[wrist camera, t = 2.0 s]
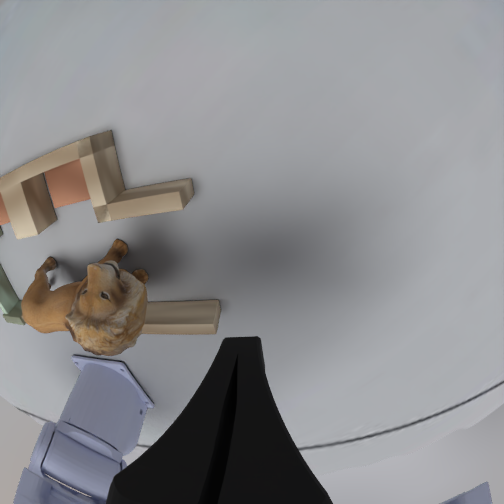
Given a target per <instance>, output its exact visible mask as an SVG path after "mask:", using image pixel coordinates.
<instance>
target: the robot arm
mask: <svg viewBox="0 0 504 504" xmlns="http://www.w3.org/2000/svg"><path fill="white" fill-rule="evenodd" d="M71 359H72V361H73V362H74V363H75V364H76V366H77V367H78V368H79V370H80V371H81V373H80V375H79V377H78V379H77V381H76V384H75V386H74V388H73V390H72V392H71V394H70V396H69V398H68V401H67V403H66V405H65V407H64V410H63V412H62V414H61V416H60V419H59V421H58V422H57V423H56V424H55V423H54V422H52V421H50V422H46V423H45V424H44V426H43V428H42V430H41V433H40V435H39V437H38V440H37V443H36V445H35V447H34V450H33V453H32V456H31V459H30V461H31V462H30V465H29V468H28V469H27V468H24V469H23V472H22V475H21V478H20V482H19V485H18V488H17V492H16V495H15V498H14V502H13V503H14V504H333V503H332V501H331V499H330V497H329V495H328V493H327V492H326V490H325V489H324V488H323V487H322V485H321V484H320V482H319V481H318V480H317V478H316V477H315V475H314V474H313V473H312V471H311V470H310V468H309V466H308V465H307V463H306V462H305V460H304V459H303V457H302V455H301V454H300V452H299V450H298V448H297V447H296V445H295V443H294V442H293V440H292V438H291V436H290V434H289V432H288V430H287V428H286V426H285V424H284V422H283V420H282V418H281V415H280V413H279V411H278V408H277V406H276V403H275V401H274V398H273V396H272V393H271V390H270V387H269V384H268V381H267V377H266V374H265V364H264V358H263V351H262V345H261V338H259V337H258V336H255V337H230V338H225V339H223V342H222V344H221V346H220V349H219V351H218V353H217V355H216V357H215V359H214V361H213V363H212V365H211V367H210V369H209V371H208V372H207V374H206V376H205V378H204V379H203V381H202V383H201V385H200V386H199V388H198V389H197V391H196V392H195V394H194V395H193V397H192V399H191V400H190V402H189V403H188V404H187V406H186V407H185V409H184V410H183V411H182V413H181V414H180V415H179V416H178V418H177V419H176V420H175V421H174V423H173V424H172V425H171V426H170V427H169V428H168V429H167V431H166V432H165V433H164V434H163V435H162V436H161V437H160V438H159V439H158V440H157V441H156V442H155V443H154V444H153V445H152V446H151V447H150V448H149V449H148V450H147V451H145V452H144V453H143V454H142V455H141V456H140V457H139V458H138V459H136V460H135V461H134V462H133V463H131V464H130V465H128V466H127V464H126V462H125V461H124V460H123V459H122V456H124V455H127V454H129V453H130V452H131V451H132V450H133V449H134V448H135V447H136V445H137V442H138V439H139V435H140V432H141V428H142V425H143V421H144V418H145V414H146V411H147V408H154V404H153V403H152V402H151V400H150V399H149V398H148V396H147V395H146V394H145V392H144V391H143V390H142V388H141V387H140V386H139V384H138V383H137V382H136V380H135V379H134V377H133V376H132V375H131V373H130V372H129V370H128V369H127V367H126V366H125V365H124V364H123V363H122V362H116V361H108V360H100V359H93V358H86V357H80V356H74V355H73V356H72V357H71ZM44 473H45V474H47V475H49V476H51V477H53V478H54V479H56V480H58V481H60V482H62V483H64V484H66V485H68V486H70V487H72V488H74V489H76V490H78V491H80V492H82V493H85V494H87V495H89V496H91V497H89V496H85V495H83V494H81V493H79V492H77V491H74V490H72V489H70V488H68V487H66V486H64V485H62V484H60V483H58V482H57V481H55V480H53V479H51V478H49V477H48V476H47V475H45V474H44ZM440 504H492V499H491V494H490V489H489V484H488V482H485V483H483V484H481V485H479V486H477V487H475V488H473V489H471V490H469V491H467V492H464V493H462V494H459V495H457V496H455V497H453V498H451V499H449V500H447V501H445V502H442V503H440Z"/></svg>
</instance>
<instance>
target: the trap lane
mask: <svg viewBox="0 0 504 504" xmlns="http://www.w3.org/2000/svg"><path fill="white" fill-rule="evenodd" d="M43 172H44V173H45V177H46V180H47V184H48V187H49V191H50V194H51V197H52V201H53V204H54V207H55V208H58V207H61V206H65V205H69V204H73V203H76V202H80V201H84V200H88V199H91V202H92V205H93V208H94V211H95V214H96V217H97V220H98V223H101V222H106V221H112V220H118V219H124V218H130V217H137V216H143V215H150V214H156V213H163V212H170V211H178V210H183V209H184V208H185V206H186V205H187V204H188V202H189V201H190V199H191V198H192V197H193V195H194V190H193V185H192V180H191V178H189V179H182V180H176V181H170V182H165V183H159V184H154V185H148V186H143V187H138V188H133V189H128V190H125V187H124V183H123V179H122V175H121V171H120V167H119V163H118V159H117V154H116V150H115V145H114V141H113V136H112V131H111V130H110V131H107V132H103V133H100V134H96V135H93V136H90V137H87V138H84V139H82V140H79V141H76V142H74V143H71V144H69V145H67V146H64V147H62V148H59V149H57V150H55V151H53V152H50V153H48V154H46V155H44V156H42V157H39V158H37V159H35V160H33V161H31V162H29V163H27V164H25V165H23V166H21V167H19V168H17V169H16V170H14V171H12V172H10V173H8V174H6V175H5V176H3V177H1V178H0V225H2V224H5V223H8V222H11V225H12V227H13V230H14V232H15V235H16V237H17V239H22V238H26V237H31V236H35V235H39V234H40V233H41V232H42V231H43V230H45V229H46V228H47V227H48V226H50V225H51V224H52V223H54V222H55V221H56V220H57V217H56V215H55V212H54V209H53V206H52V203H51V199H50V196H49V193H48V190H47V186H46V183H45V179H44V176H43ZM2 234H3V233H2V230H1V227H0V236H1V235H2ZM21 302H22V300H19V299H18V297H17V296H16V294H15V292H14V290H13V288H12V286H11V285H10V283H9V281H8V279H7V277H6V275H5V273H4V271H3V269H2V267H1V265H0V308H1V310H2V311H3V313H4V314H3V317H4V318H5V320H6V322H8V323H14V324H20V325H25V323H26V322H25V320H24V318H23V315H22V308H21ZM220 312H221V308H220V304H219V300H202V301H176V302H148V303H147V308H146V315H145V318H146V319H145V323H144V326H143V327H142V333H141V334H216V333H217V328H218V323H219V318H220Z"/></svg>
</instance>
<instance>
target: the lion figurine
mask: <svg viewBox="0 0 504 504" xmlns="http://www.w3.org/2000/svg"><path fill="white" fill-rule="evenodd" d="M127 251H128V248H127V245H126V244H125V243H124V242H123V241H120V240H118V239H116V240H115V241H114V243H113V245H112V247H111V248H110V250H109V251H108V253H107V255H106V256H105V257H104V258H103V259H102V260H100V261H99V262H98V263H92V264H89V265H88V267H87V273H88V275H87V276H86V277H85V278H84V279H83V281H82V282H74V283H70V284H67V285H64V286H61V287H59V288H57V289H56V290H54V291H50V288H51V285H50V284H49V283H48V277H47V275H46V273H47V272H48V271H50V270H54V269H55V268H56V262H55V260H54V259H53V258H52V257H49V258H47V259H46V261H45V262H44V263H43V265H42V266H41V267H40V268H39V269H38V270H37V271H36V274H35V280H34V281H33V283H32V284H31V285H30V286H29V288H28V290H27V292H26V293H25V295H24V297H23V300H22V302H21V308H22V315H23V318H24V320H25V322H26V323H27V324H29V325H30V326H32V327H33V328H34V329H36V330H37V331H39V332H41V333H51V332H55V331H70V333H71V335H72V337H73V340H74V341H75V342H78V343H79V344H80V345H81V346H82V347H83V349H84V350H85V351H89V352H92V353H93V354H95V355H106V356H113V355H118V354H121V353H122V352H123V351H124V350H125V349H127V348H129V347H133V346H134V345H135V344H136V340H137V338H138V337H139V336H140V335H141V333H142V327H143V326H144V323H145V319H146V318H145V315H146V308H147V303H148V300H147V291H146V287H145V285H144V284H145V283H146V282H147V280H148V274H147V273H146V272H145V270H143V269H138V270H135V271H133V272H132V274H130V273H129V272H127V271H126V270H124V269H119V267H118V264H117V263H119V262H120V261H121V259H122V257H123V256H124V255H126V253H127Z"/></svg>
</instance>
